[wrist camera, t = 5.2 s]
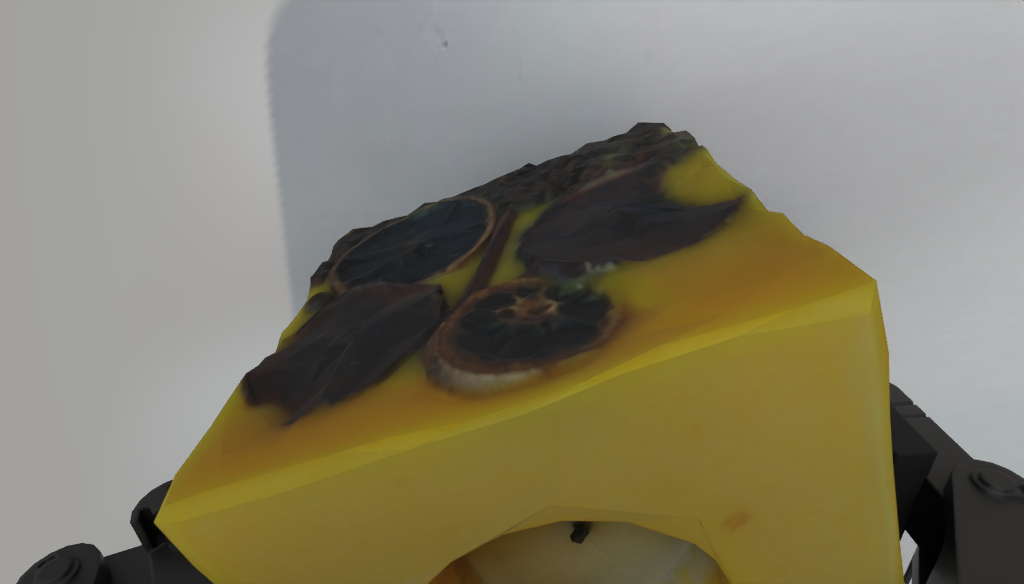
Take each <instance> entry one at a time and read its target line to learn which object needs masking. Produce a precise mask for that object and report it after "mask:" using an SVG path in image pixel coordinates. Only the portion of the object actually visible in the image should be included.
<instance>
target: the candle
mask: <svg viewBox="0 0 1024 584" xmlns="http://www.w3.org/2000/svg"><path fill="white" fill-rule="evenodd" d="M154 524H155V525H156V526H157V527H158V528H159V529H160V530H161V531H162V532H163V533H164V534H165V536H166V537H167V538H168V539H169V540H170V541H171V542H172V543H173V544H174V545H175V546H176V547H177V548H178V550H179V551H180V552H181V553H182V554H183V555H184V556H185V557H186V558H187V559H188V560H189V561H190V562H191V564H192V565H193V566H194V567H195V568H196V569H198V570H199V571H200V572H201V573H202V574H203V575H205V576H206V577H207V578H208V579H209V580H210V581H212V582H213V583H214V584H904V576H903V567H902V558H901V549H900V540H899V528H898V516H897V504H896V493H895V481H894V469H893V455H892V440H891V424H890V391H889V352H888V346H887V340H886V334H885V329H884V323H883V317H882V311H881V306H880V300H879V294H878V288H877V282H876V280H874V279H873V278H872V277H870V276H869V275H868V274H866V273H865V272H864V271H862V270H861V269H859V268H858V267H857V266H855V265H854V264H853V263H851V262H850V261H849V260H847V259H846V258H845V257H843V256H842V255H840V254H839V253H838V252H836V251H835V250H834V249H832V248H831V247H830V246H828V245H825V244H823V243H821V242H818V241H816V240H814V239H812V238H809V237H807V236H805V235H803V234H802V233H801V232H800V231H799V230H798V229H797V228H796V227H795V226H794V225H793V224H792V222H791V221H790V220H789V219H788V218H787V217H786V216H785V215H784V214H783V213H776V212H769V211H767V209H766V208H765V207H764V206H763V204H762V203H761V202H760V200H759V199H758V198H757V196H756V195H755V194H754V193H753V191H752V190H751V189H749V188H748V187H746V186H745V185H743V184H741V183H740V182H738V181H737V180H735V179H734V178H733V177H732V176H730V175H729V174H728V173H727V172H726V171H725V170H724V169H722V168H721V167H720V166H719V165H718V164H717V163H716V162H715V161H714V159H713V158H712V156H711V155H710V153H709V152H708V150H707V149H706V148H705V147H704V146H698V144H697V142H696V140H695V138H694V137H693V136H692V135H691V134H690V133H689V132H687V131H680V132H674V133H673V132H671V129H670V128H668V127H667V126H666V125H665V124H664V123H637V124H636V125H635V126H634V127H633V128H631V129H630V130H629V131H628V132H627V133H625V134H621V135H617V136H614V137H611V138H609V139H607V140H605V141H599V142H593V143H587V144H586V145H584V146H583V147H581V148H580V149H578V150H577V151H575V152H574V153H572V154H571V155H564V156H560V157H557V158H554V159H551V160H548V161H545V162H543V163H541V164H539V165H537V166H536V165H533V164H530V163H528V164H527V165H525V166H524V167H522V168H520V169H518V170H515V171H513V172H511V173H508V174H506V175H504V176H501V177H499V178H497V179H494V180H492V181H490V182H489V183H487V184H485V185H482V186H479V187H476V188H473V189H471V190H468V191H466V192H464V193H461V194H459V195H456V196H454V197H451V198H445V199H442V200H440V201H438V202H432V203H424V204H423V205H421V206H420V207H419V208H417V209H416V210H415V211H413V212H412V213H410V214H409V215H408V216H403V217H398V218H394V219H390V220H386V221H383V222H381V223H379V224H377V225H375V226H373V227H368V228H359V229H353V230H351V231H350V232H349V233H347V234H346V235H345V236H343V237H342V238H341V239H339V240H338V241H337V243H336V244H335V245H334V247H333V250H332V254H331V256H330V258H329V260H328V261H326V262H322V264H321V265H320V266H319V268H318V269H317V271H316V272H315V273H314V275H313V276H312V277H311V286H310V291H309V296H308V300H307V302H306V303H305V305H304V306H303V308H302V309H301V310H300V312H299V313H298V315H297V316H296V318H295V319H294V320H293V321H292V322H291V323H290V325H289V326H288V327H287V328H286V329H285V330H284V331H283V333H282V334H281V337H280V340H279V344H278V347H277V350H276V353H274V354H272V355H270V356H268V357H266V358H265V359H264V360H263V361H262V362H261V363H260V365H258V366H257V367H255V368H254V369H252V370H251V371H249V372H248V373H246V374H245V376H244V377H243V379H242V380H241V382H240V383H239V385H238V386H237V388H236V389H235V391H234V392H233V394H232V395H231V397H230V398H229V399H228V401H227V403H226V404H225V406H224V407H223V409H222V410H221V412H220V413H219V415H218V416H217V418H216V420H215V421H214V422H213V424H212V426H211V427H210V428H209V430H208V431H207V433H206V434H205V435H204V436H203V438H202V439H201V441H200V442H199V443H198V445H197V446H196V447H195V449H194V450H193V452H192V453H191V454H190V456H189V457H188V459H187V460H186V461H185V463H184V464H183V465H182V467H181V468H180V470H179V471H178V472H177V474H176V475H175V477H174V479H173V481H172V484H171V486H170V488H169V490H168V492H167V495H166V497H165V499H164V501H163V503H162V505H161V508H160V510H159V512H158V514H157V516H156V519H155V521H154Z"/></svg>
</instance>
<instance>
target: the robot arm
mask: <svg viewBox="0 0 1024 584" xmlns="http://www.w3.org/2000/svg"><path fill="white" fill-rule="evenodd" d="M889 391H890V424H891V440H892V455H893V469H894V481H895V493H896V504H897V516H898V528H899V540H901V538H902V535H903V533H904V531H905V530H906V531H907V532H908V534H909V535H910V536H911V537H912V539H913V540H914V541H915V543H916V544H917V545H918V546H917V548H916V551H915V553H914V555H913V557H912V559H911V562H910V564H909V566H908V568H907V570H906V573H905V575H904V583H905V584H909V582H910V580H911V577H912V584H1024V478H1022V477H1020V476H1019V475H1017V474H1015V473H1014V472H1012V471H1010V470H1009V469H1006V468H1004V467H1001V466H999V465H996V464H994V463H990V462H985V461H980V460H974V459H973V458H972V457H970V456H969V455H968V454H967V453H966V452H965V451H964V450H963V449H962V448H961V447H960V446H959V445H958V444H957V443H956V442H955V441H954V440H953V439H952V438H950V437H949V436H948V435H947V434H946V433H945V432H944V431H943V430H942V429H941V428H940V427H939V426H938V425H937V424H936V423H935V422H934V421H933V420H932V419H931V418H929V417H926V414H925V413H924V412H923V411H922V410H921V409H920V408H919V407H918V406H917V405H913V401H912V400H911V399H909V398H908V397H907V396H906V395H905V394H904V393H903V392H902V391H901V390H900V389H899V388H898V387H897V386H895V385H893V384H891V383H889ZM172 481H173V480H171V481H168V482H166V483H164V484H162V485H160V486H159V487H157V488H155V489H153V490H152V491H150V492H149V493H148V494H147V495H146V496H145V497H143V498H142V499H141V500H140V501H139V503H138V504H137V506H136V507H135V509H134V510H133V511H132V515H131V520H130V524H131V525H132V527H133V529H134V531H135V532H136V534H137V536H138V538H139V540H140V541H141V543H142V545H141V546H138V547H134V548H131V549H128V550H125V551H122V552H119V553H115V554H112V555H109V556H106V557H103V555H102V554H101V552H100V551H99V550H98V549H97V548H96V547H95V546H94V545H91V544H85V543H80V544H75V545H70V546H66V547H64V548H61V549H59V550H57V551H55V552H52V553H50V554H49V555H47V556H46V557H44V558H43V559H41V560H40V561H38V562H36V563H35V564H34V565H33V566H32V567H31V568H30V569H28V570H27V571H26V572H25V573H24V575H22V576H21V577H20V579H19V580H18V582H17V584H214V583H213V582H212V581H210V580H209V579H208V578H207V577H206V576H205V575H203V574H202V573H201V572H200V571H199V570H198V569H196V568H195V567H194V566H193V565H192V564H191V562H190V561H189V560H188V559H187V558H186V557H185V556H184V555H183V554H182V553H181V552H180V551H179V550H178V548H177V547H176V546H175V545H174V544H173V543H172V542H171V541H170V540H169V539H168V538H167V537H166V536H165V534H164V533H163V532H162V531H161V530H160V529H159V528H158V527H157V526H156V525H155V524H154V521H155V519H156V516H157V514H158V512H159V510H160V508H161V505H162V503H163V501H164V499H165V497H166V495H167V492H168V490H169V488H170V486H171V484H172Z"/></svg>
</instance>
